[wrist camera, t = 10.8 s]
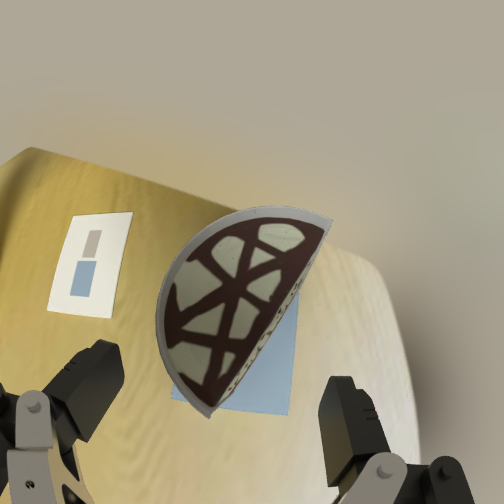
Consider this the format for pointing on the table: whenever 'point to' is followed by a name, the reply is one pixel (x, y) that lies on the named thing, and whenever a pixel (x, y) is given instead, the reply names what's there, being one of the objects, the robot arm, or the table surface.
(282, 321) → the base brick
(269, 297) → the food container
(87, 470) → the table surface
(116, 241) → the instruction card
